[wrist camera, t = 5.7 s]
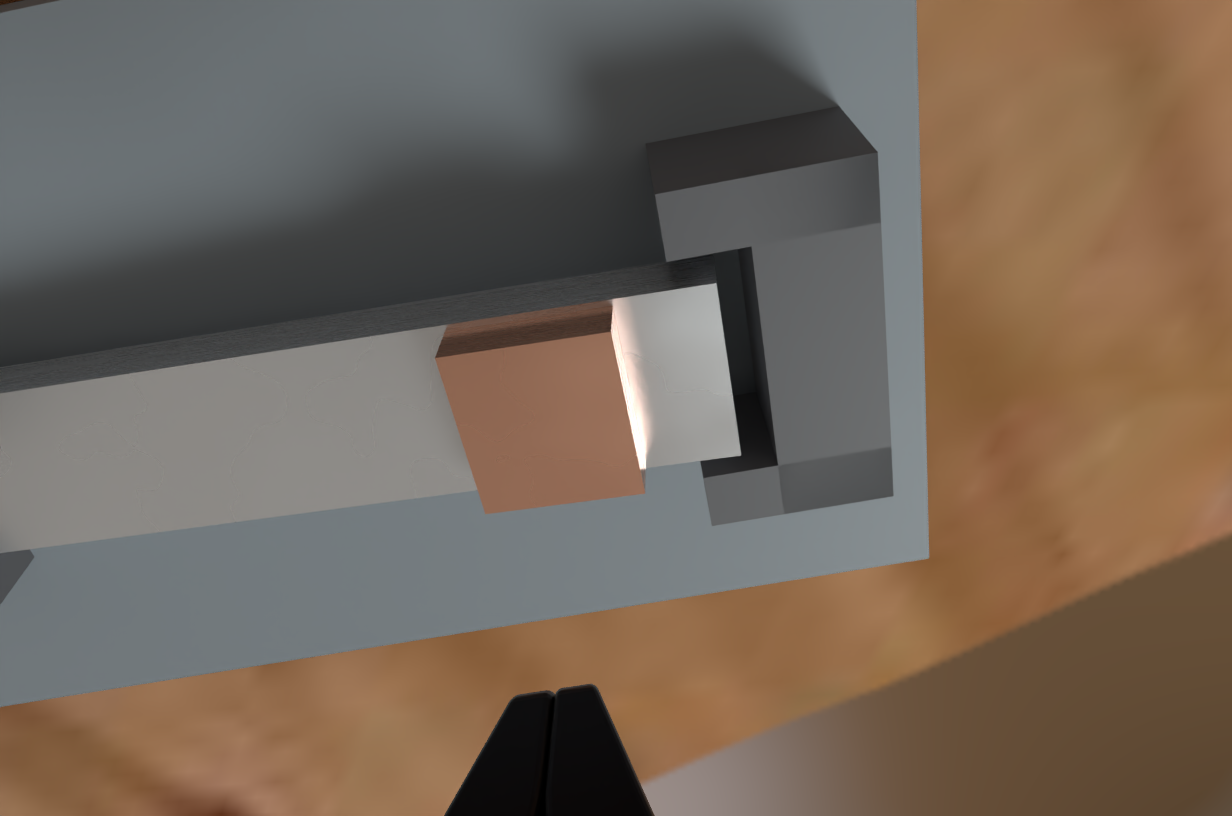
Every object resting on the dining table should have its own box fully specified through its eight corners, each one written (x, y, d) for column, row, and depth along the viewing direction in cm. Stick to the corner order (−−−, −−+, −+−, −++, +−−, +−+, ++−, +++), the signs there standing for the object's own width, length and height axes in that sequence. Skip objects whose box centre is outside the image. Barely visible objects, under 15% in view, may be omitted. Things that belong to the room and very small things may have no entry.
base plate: (30, 655, 23) (-71, 812, 19) (-372, 84, 16) (-643, 166, 12) (907, 512, 21) (972, 653, 18) (882, -184, 14) (979, -177, 11)
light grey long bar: (-81, 523, 18) (-159, 602, 17) (-178, 387, 17) (-276, 458, 15) (735, 410, 17) (745, 486, 15) (712, 246, 15) (719, 308, 13)
